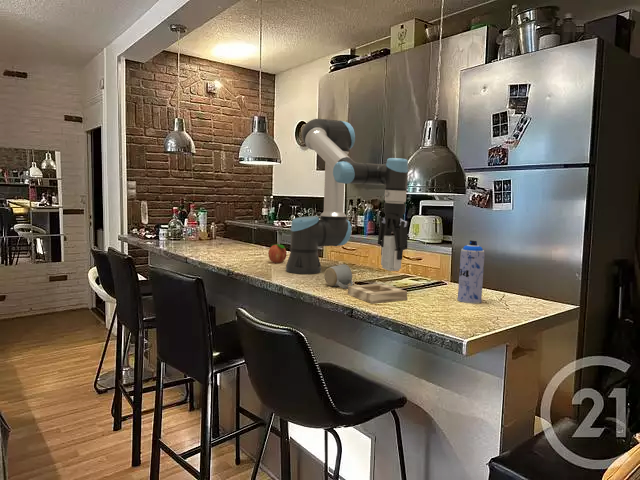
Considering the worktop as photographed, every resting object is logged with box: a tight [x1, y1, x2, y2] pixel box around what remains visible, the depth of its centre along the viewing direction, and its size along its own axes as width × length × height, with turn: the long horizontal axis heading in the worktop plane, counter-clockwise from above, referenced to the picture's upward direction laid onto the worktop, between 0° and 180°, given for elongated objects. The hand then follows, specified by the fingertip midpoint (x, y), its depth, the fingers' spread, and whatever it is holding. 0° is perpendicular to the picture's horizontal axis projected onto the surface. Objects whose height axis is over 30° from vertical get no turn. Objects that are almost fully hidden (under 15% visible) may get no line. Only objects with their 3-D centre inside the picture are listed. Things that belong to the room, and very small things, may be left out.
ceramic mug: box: [323, 264, 354, 290], centre depth 173 cm, size 11×8×8 cm
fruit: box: [268, 241, 287, 264], centre depth 224 cm, size 9×10×10 cm
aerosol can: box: [456, 240, 485, 305], centre depth 155 cm, size 8×8×20 cm
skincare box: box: [381, 235, 400, 272], centre depth 169 cm, size 6×4×12 cm
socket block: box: [347, 283, 408, 304], centre depth 157 cm, size 14×14×3 cm
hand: (390, 266), depth 170 cm, fingers closed on skincare box, 7 cm apart
